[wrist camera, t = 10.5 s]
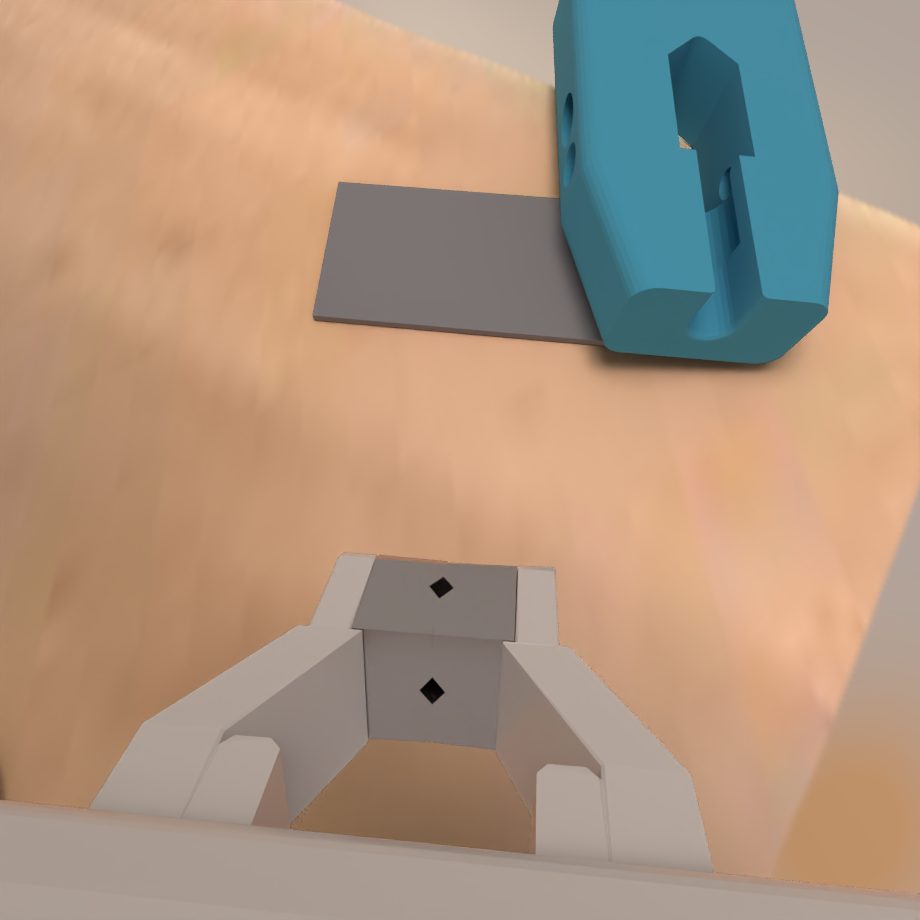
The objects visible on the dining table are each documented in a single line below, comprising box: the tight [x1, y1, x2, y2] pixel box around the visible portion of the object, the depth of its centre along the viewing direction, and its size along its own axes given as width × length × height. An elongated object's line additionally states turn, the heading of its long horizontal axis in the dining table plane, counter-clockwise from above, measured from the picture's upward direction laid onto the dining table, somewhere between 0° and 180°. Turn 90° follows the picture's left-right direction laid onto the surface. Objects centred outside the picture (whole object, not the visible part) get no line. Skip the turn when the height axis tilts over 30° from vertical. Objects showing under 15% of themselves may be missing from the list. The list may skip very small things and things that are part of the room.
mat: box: [313, 182, 605, 346], centre depth 36 cm, size 20×8×1 cm, turn 84°
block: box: [553, 0, 838, 364], centre depth 34 cm, size 12×5×20 cm
